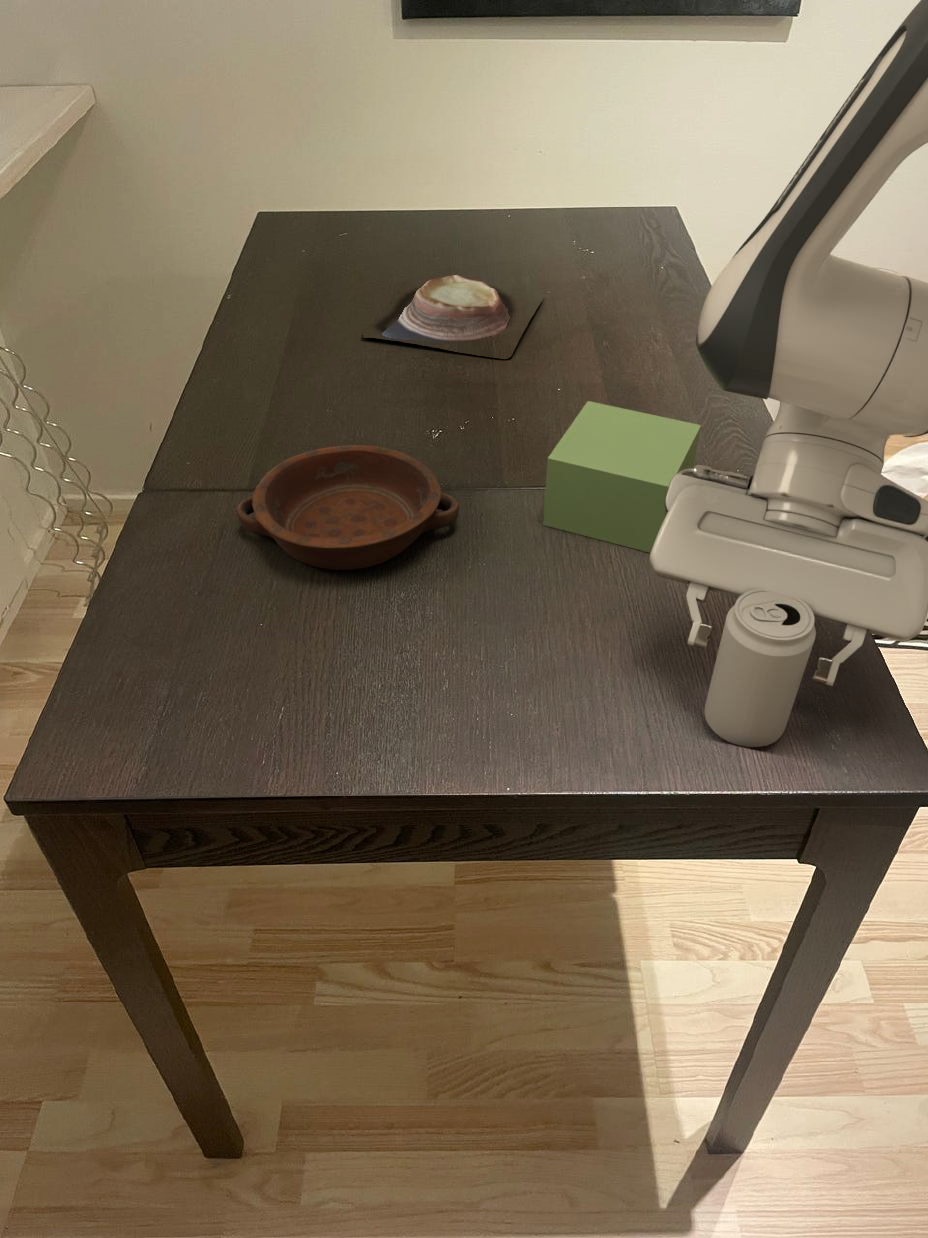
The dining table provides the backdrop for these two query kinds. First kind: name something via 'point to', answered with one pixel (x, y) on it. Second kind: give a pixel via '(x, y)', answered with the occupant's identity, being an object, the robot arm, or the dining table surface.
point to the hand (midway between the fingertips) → (758, 664)
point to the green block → (616, 474)
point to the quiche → (451, 312)
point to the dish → (347, 506)
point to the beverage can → (759, 667)
